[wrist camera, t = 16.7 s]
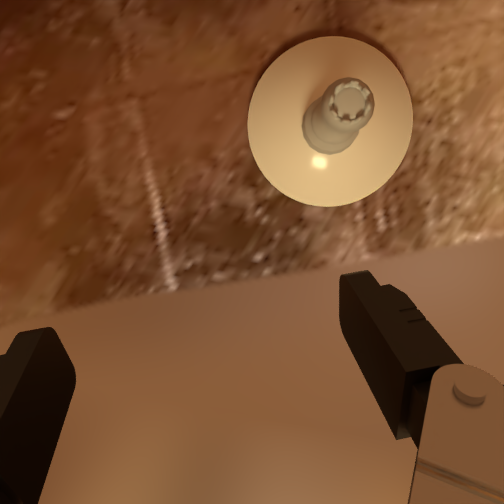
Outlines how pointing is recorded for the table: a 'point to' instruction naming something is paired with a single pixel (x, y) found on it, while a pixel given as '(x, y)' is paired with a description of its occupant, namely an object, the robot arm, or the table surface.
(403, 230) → the table surface
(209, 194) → the table surface
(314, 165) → the cream plate
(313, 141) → the rook chess piece
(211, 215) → the table surface
